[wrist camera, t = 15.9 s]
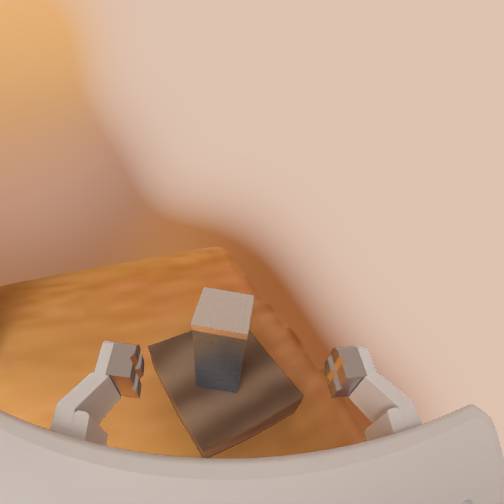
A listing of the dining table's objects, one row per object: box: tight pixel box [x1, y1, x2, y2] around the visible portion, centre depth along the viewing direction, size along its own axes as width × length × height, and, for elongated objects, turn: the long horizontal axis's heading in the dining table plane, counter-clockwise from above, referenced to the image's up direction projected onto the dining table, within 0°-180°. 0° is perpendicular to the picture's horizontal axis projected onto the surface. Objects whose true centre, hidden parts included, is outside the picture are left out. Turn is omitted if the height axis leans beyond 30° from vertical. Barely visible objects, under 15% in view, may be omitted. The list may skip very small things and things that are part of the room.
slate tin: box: [191, 287, 254, 393], centre depth 30 cm, size 5×5×12 cm
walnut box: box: [148, 331, 304, 458], centre depth 35 cm, size 16×14×6 cm
